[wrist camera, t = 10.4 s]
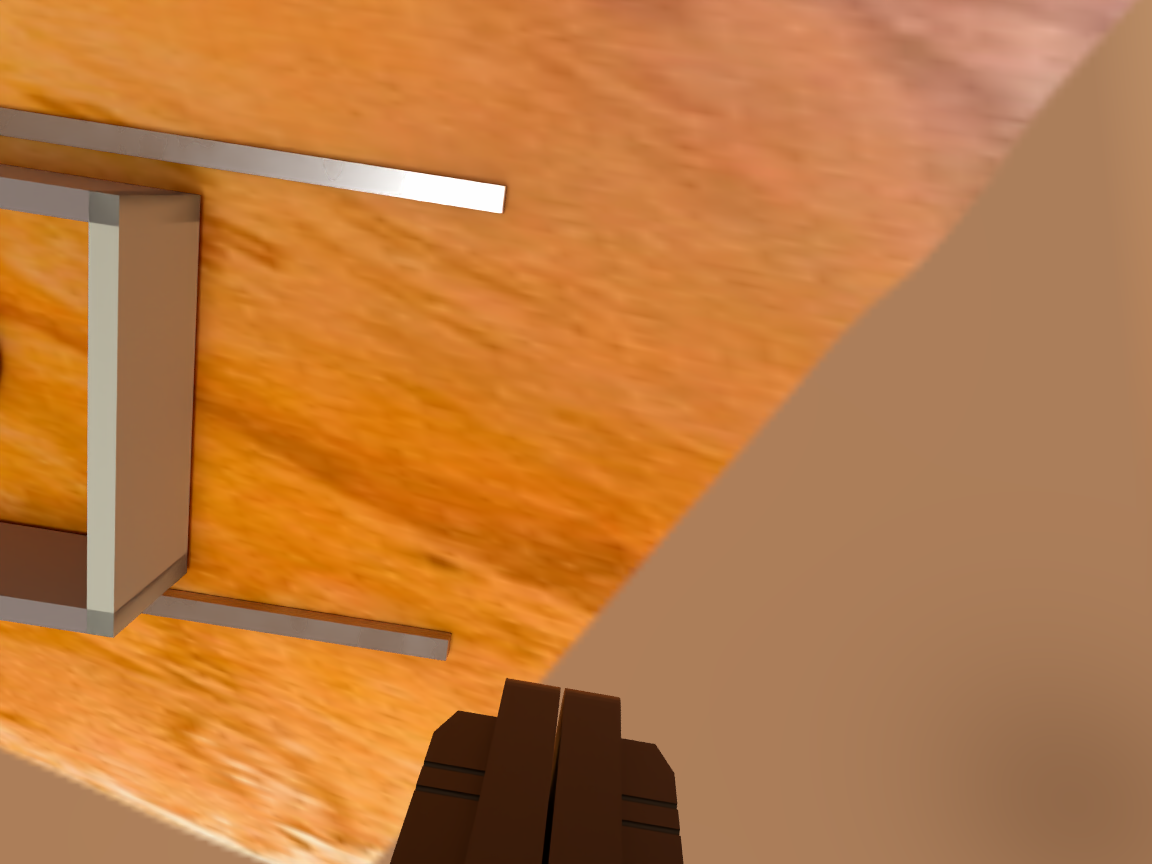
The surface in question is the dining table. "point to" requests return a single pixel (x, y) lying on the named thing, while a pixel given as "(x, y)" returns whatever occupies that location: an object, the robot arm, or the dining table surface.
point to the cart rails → (294, 170)
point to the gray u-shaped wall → (118, 408)
